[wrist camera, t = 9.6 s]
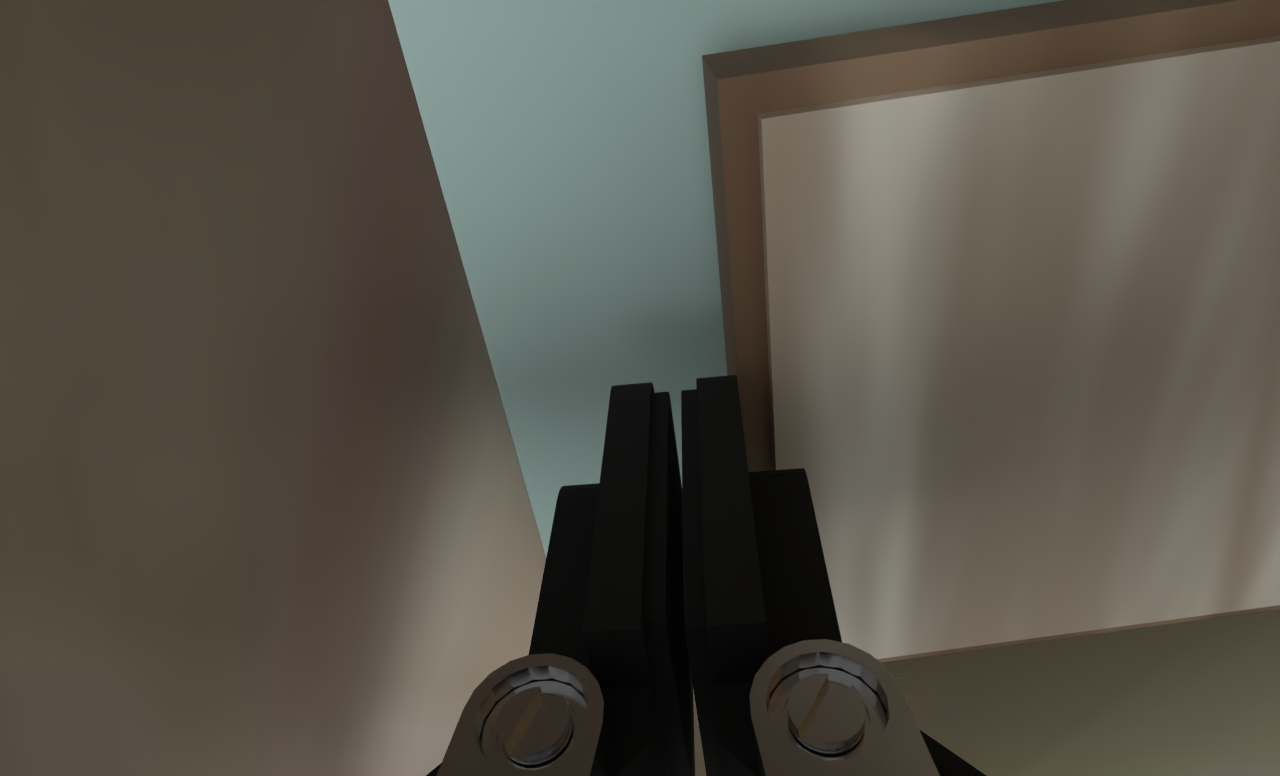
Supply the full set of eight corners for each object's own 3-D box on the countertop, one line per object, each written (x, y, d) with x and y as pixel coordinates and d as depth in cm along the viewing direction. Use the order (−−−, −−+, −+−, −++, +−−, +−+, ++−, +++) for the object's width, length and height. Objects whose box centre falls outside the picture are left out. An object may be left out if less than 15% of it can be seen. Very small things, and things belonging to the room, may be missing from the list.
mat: (2286, -410, 8) (2340, -419, 7) (1546, 563, 16) (1560, 575, 15) (365, -106, 10) (358, -105, 10) (567, 617, 18) (565, 628, 17)
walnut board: (2175, -136, 7) (719, 83, 8) (1591, 577, 13) (761, 688, 13) (1961, -136, 9) (702, 55, 9) (1508, 519, 14) (747, 622, 14)
